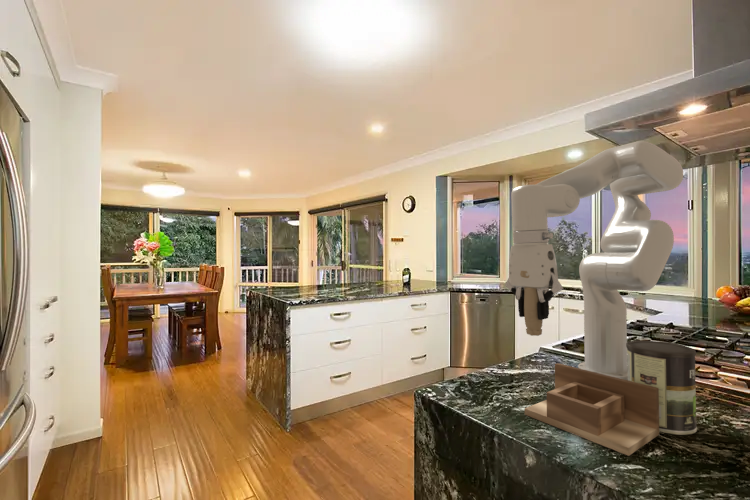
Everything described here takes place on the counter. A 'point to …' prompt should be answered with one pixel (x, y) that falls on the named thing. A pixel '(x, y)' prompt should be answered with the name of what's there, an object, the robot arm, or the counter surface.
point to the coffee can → (667, 381)
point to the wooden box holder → (601, 409)
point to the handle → (531, 310)
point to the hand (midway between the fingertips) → (533, 316)
